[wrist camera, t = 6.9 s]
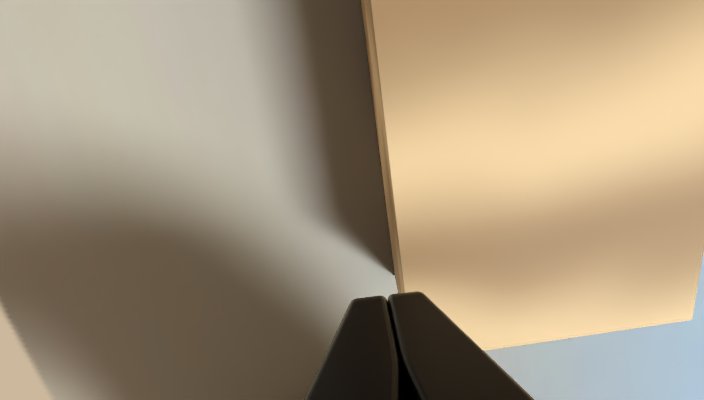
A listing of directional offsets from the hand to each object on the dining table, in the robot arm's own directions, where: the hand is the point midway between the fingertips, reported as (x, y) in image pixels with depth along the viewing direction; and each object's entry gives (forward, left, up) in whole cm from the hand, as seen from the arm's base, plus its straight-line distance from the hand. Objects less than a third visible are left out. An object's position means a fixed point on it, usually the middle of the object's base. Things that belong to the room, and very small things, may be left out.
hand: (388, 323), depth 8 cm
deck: (+2, -5, -12) cm, 13 cm away
